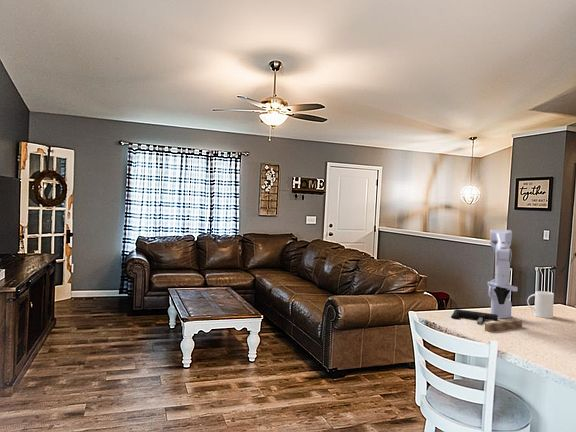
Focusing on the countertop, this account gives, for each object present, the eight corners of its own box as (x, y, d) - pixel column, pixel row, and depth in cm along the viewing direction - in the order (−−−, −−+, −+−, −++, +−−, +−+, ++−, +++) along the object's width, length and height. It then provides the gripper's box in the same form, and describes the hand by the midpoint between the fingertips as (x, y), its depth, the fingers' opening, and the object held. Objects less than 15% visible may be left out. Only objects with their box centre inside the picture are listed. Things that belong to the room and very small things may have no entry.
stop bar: (518, 325, 204) (518, 319, 204) (522, 326, 202) (522, 320, 202) (484, 330, 195) (484, 323, 194) (488, 331, 193) (488, 324, 193)
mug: (526, 315, 224) (527, 292, 224) (526, 312, 232) (527, 289, 232) (553, 319, 219) (554, 295, 218) (552, 315, 226) (554, 292, 226)
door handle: (495, 322, 201) (498, 313, 215) (449, 316, 211) (454, 307, 225) (494, 329, 201) (498, 319, 215) (448, 322, 211) (454, 313, 225)
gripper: (483, 272, 210) (482, 301, 210) (510, 277, 197) (509, 308, 197) (493, 272, 213) (492, 300, 213) (521, 277, 200) (519, 307, 200)
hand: (501, 304), depth 205 cm, fingers closed
